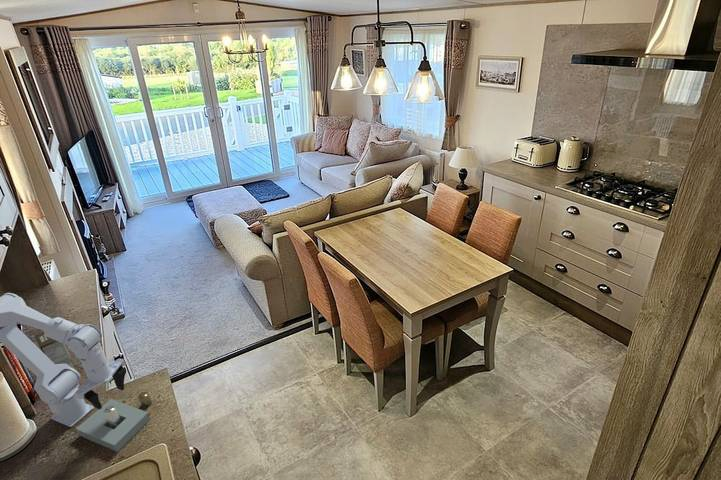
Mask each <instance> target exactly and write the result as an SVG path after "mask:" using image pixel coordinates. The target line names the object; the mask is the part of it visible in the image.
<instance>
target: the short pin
mask: <svg viewBox="0 0 721 480" xmlns="http://www.w3.org/2000/svg"><path fill="white" fill-rule="evenodd" d="M137 397H138V398H137V399H138V401H139V403H140V405H141V408H142V409H148V408H149V407H151V406H152V399H151V397H150V394H149V392H148V391H143V392H141V393H140V394H138V396H137Z"/></svg>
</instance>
